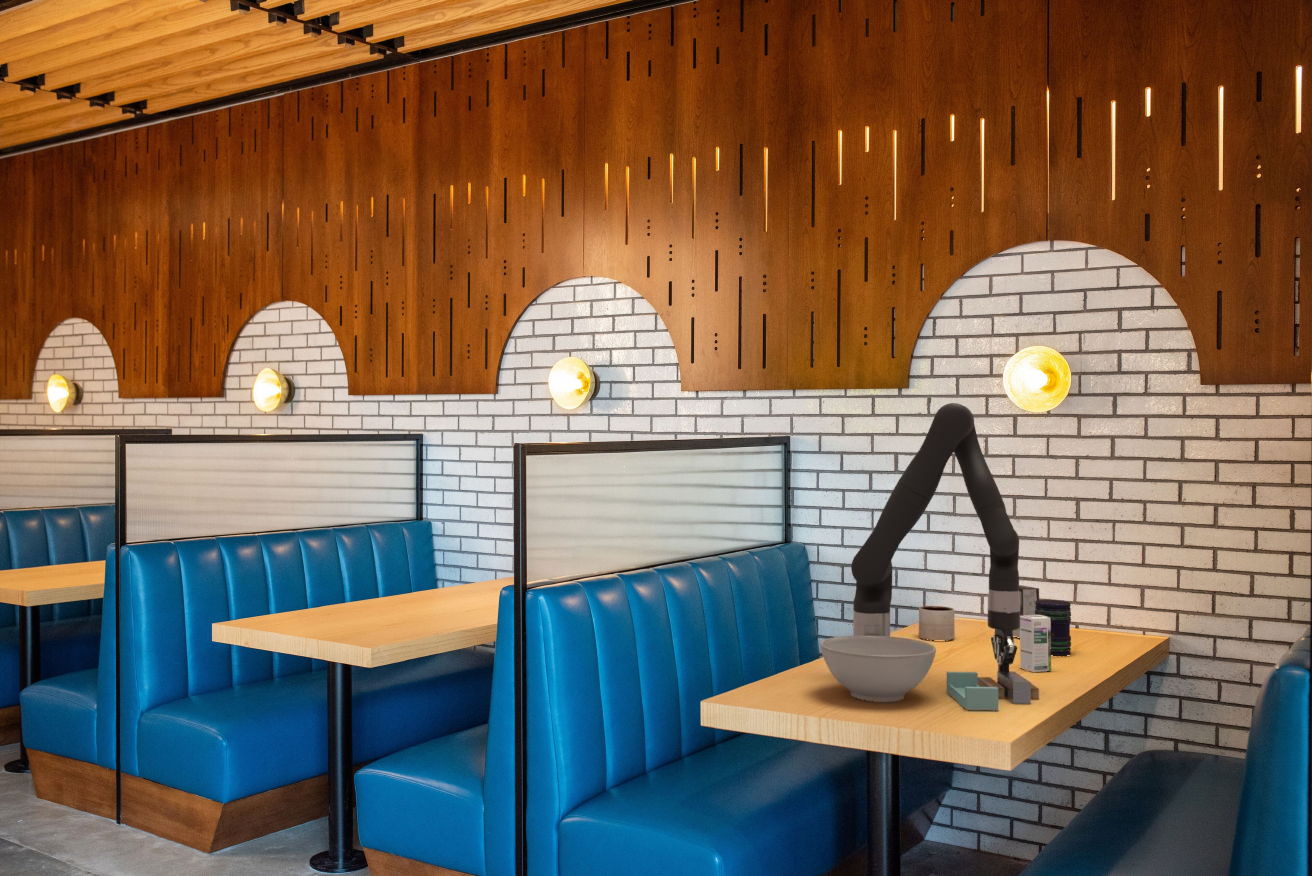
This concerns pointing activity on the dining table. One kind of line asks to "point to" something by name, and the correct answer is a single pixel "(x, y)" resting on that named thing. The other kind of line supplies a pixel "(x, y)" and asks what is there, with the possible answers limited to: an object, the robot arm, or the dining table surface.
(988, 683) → the slotted beam
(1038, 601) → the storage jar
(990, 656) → the dining table surface
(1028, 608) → the coffee box
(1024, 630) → the syrup box
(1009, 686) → the grey rectangular block
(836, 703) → the dining table surface
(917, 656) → the decorative bowl
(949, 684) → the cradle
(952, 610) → the planter
